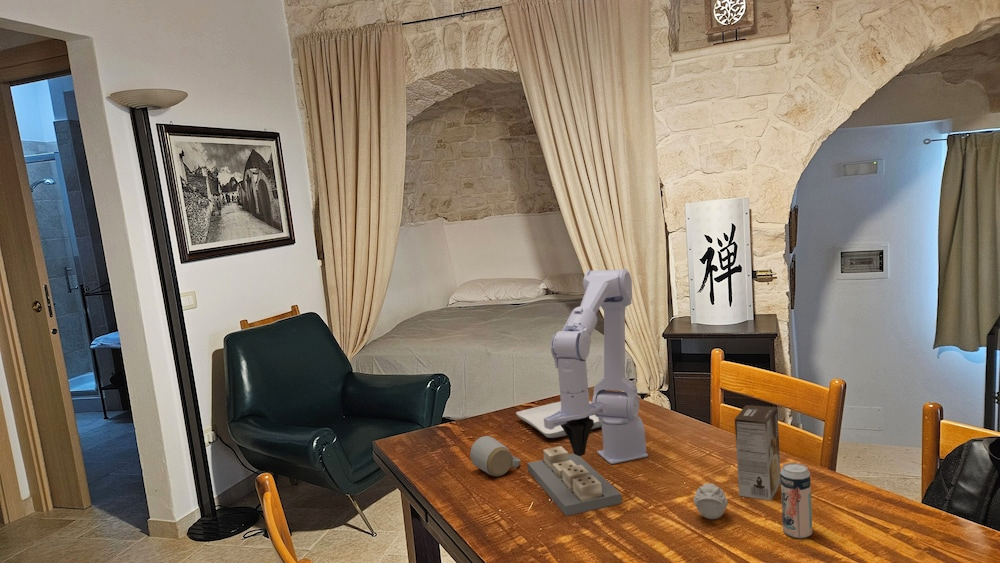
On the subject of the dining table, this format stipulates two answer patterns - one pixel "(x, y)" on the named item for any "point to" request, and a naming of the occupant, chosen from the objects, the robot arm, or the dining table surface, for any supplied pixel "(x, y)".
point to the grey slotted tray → (565, 496)
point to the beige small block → (573, 475)
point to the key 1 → (555, 456)
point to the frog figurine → (710, 501)
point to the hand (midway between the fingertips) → (579, 454)
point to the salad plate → (539, 413)
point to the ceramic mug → (492, 456)
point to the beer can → (796, 500)
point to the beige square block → (587, 488)
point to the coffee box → (758, 452)
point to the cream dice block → (559, 466)
